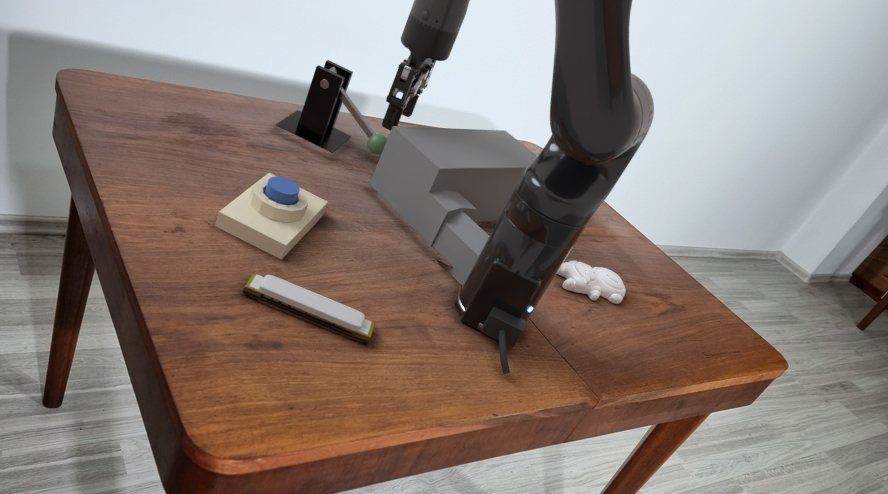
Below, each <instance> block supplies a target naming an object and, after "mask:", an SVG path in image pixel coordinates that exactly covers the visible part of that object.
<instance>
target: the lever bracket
mask: <svg viewBox="0 0 888 494" xmlns="http://www.w3.org/2000/svg"><path fill="white" fill-rule="evenodd" d="M332 67H335V69H336V70H337V71H338V73H339V74H340V75H338V74H336V73H334V72H332V71H330V70H329V69H330V68H332ZM353 74H354V71H352V70H350V69H348V68H346V67H343V66H342V65H340V64H338V63H336V62H334V61H332V60H330V59H327V60H325V62H324V66H322V65H320V64H319V65H316V67H315V69H314V72H313V76H312V79H311V82H310V85H309V88H308V91H307V94H306V98H305V101H304V103H303V107H302V110H299V109H297V110H295V111H293V112H292V113H291V114H289V115H287V116H286V117H285V118H284V119H282V120H280V121H279V122H277V123H276V124H275V126H276V127H278V128H281V130H284V131H286V132H289V133H290V134H292V135H294V136H296V137H298V138H300V139H303V140H305V141H306V142H309V143H311V144H313V145H315V146H317V147H319V148H321V149H323V150H324V151H327V152H329V153H331V154H334V152H336V150H339V148H340V147H342V145H343V144H344V143H346V142H347V141H348V140H349V139H350V138H352V136H351V135H350V134H347V133H346V132H344V131H342V130H340V129H337V128H336V127H335V125H336V122H337V120H338V116H339V114H340V110H341V108H342V105H343V102H342V101H341V100H340V98H339V97H338V95H339V92H340V89H341V87H342V88H343V89H344V91H345V92H346V93H347V91H348V88H349V85H350V82H351V80H352V77H353ZM343 81H345V82H344V83H343Z"/></svg>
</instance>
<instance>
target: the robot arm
mask: <svg viewBox="0 0 888 494" xmlns="http://www.w3.org/2000/svg"><path fill="white" fill-rule="evenodd" d="M553 1H554V15H555V16H554V18H555V32H554V33H555V35H554V54H553V65H552V78H551V90H550V103H549V126H550V131H551V136H550V137H549V139H548V141H547V142H546V143H545V145H544V146H543V148H542V150H541V151H540V152H539V154H537V157H536V158H535V159H534V160H533V161H532V162H531V163H530V164H529V166H528V167H527V168H526V170H525V171H524V173H523V175H522V177H521V179H520V180H519V182H518V184H517V186H516V188H515V190H514V192H513V194H512V195H511V197H510V199H509V201H508V203H507V205H506V207H505V208H504V210H503V212H502V214H501V216H500V218H499V219H498V220H497V221H496V223H495V225H494V227H493V228H492V231H491V233H490V234H489V238H488V240H487V242H486V244H485V246H484V247H483V249H482V251H481V253H480V255H479V257H478V259H477V261H476V262H475V264H474V266H473V268H472V270H471V272H470V274H469V276H468V278H467V280H466V281H465V283H464V285H463V286H462V287H461V288H460V289H459V291H458V293H457V295H456V297H455V306H456V309H457V311H458V312H459V314H460V315H461V318H460V321H461V323H464V324H466V325H467V326H470V327H472V328H474V329H476V330H478V331H479V332H481V333H482V334H483V335H486V336H488V337H490V338H492V339H494V340H496V341H498V351H499V359H500V360H499V361H500V365H501V371H502V375H508V374H511V370H510V366H509V359H508V352H507V346H508V347H509V348H512V349H514V348H515V346H516V345H517V343H518V341H519V340H520V339H521V336H522V335H523V334H524V332H525V327H526V324H527V322H529V321H528V320H529V319H530V318H531V316H532V314H533V313H534V311H535V309H536V307H537V306H538V305H539V303H540V301H541V300H542V298H543V296H544V295H545V294H546V292H547V290H548V288H549V286H550V285H551V283H552V282H553V280H554V278H555V277H556V275H558V274H557V272H558V270H559V269H560V267H561V265H562V264H563V262H566V260H567V258H568V256H569V254H570V253H571V252H572V250H573V248H574V246H575V245H576V243H577V241H578V240H579V238H580V237H581V235H582V233H583V232H584V231H585V229H586V227H587V226H588V224H589V222H590V221H591V219H592V218H593V216H594V215H595V213H596V212H597V210H598V209H599V208H600V207H601V205H602V204H603V203H604V201H605V200H606V199H607V198H608V197H609V195H610V194H611V192H612V191H613V189H614V187H615V186H616V184H617V182H618V181H619V180H620V178H621V177H622V175H623V173H624V172H625V170H626V169H627V168H628V166H629V165H630V163H631V162H632V160H633V158H634V156H635V155H636V154H637V152H638V150H639V149H640V147H641V145H642V144H643V142H644V140H645V138H647V135H648V134H649V131H650V129H651V127H652V125H653V120H654V115H655V103H654V98H653V95H652V92H651V89H650V88H649V87H648V85H647V84H646V83H645V81H644V80H642V78H640V77H639V76H638V75H636V74H634V73H632V67H631V51H630V49H631V48H630V25H631V24H630V23H631V12H632V6H633V1H634V0H553ZM470 2H471V0H413V3H412V5H411V8H410V11H409V14H408V17H407V20H406V22H405V25H404V28H403V31H402V33H401V36H400V43H401V44H402V45H403V47H404V48H406V49H408V51H409V52H410V54H409V56H408V57H407V59H406V58H404V59H403V61H402V62H401V61H400V63H399V64H398V67H397V71H396V73H395V76H394V78H393V82H392V84H391V86H390V89H389V91H388V94H387V96H386V98H385V99H386V100H385V102H386V103H388V106H387V109H386V112H385V114H384V116H383V119H382V122H381V126H382V128H384V129H386V130H388V131H390V132H391V129H392V127H393V126H399V123H400V121H401V119H402V116H404V117H406V118H410V117H411V116H412V115H413V113H414V111H415V108H416V106H417V103H418V100H419V98H420V96H421V95H422V94H423V93H424V90H425V89H426V88H427V87H428V85H429V81H430V78H431V75H432V74H433V70H434V68H435V65H436V63H437V62H444V61H447V60H448V59H449V57H450V56H451V53H452V51H453V47H454V45H455V44H456V40H457V38H458V36H459V33H460V30H461V28H462V25H463V23H464V21H465V18H466V16H467V12H468V10H469V9H468V8H469V5H470ZM398 93H401V94H402V96H401V98H399V97H397V95H398Z"/></svg>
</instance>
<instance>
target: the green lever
mask: <svg viewBox="0 0 888 494" xmlns="http://www.w3.org/2000/svg"><path fill="white" fill-rule="evenodd" d="M329 70H330V71H332V72H334V73H336V74H338V75H340V74H339V73H338V71H337V70H336V69H335V67H332V68H330V69H329ZM344 82H345V81H343V83H344ZM338 97H339V98H340V100H341V101H342V105H344V107H345V108H346V109H347V111H348V112H349V114H350V115H351V116H352V118H353V119H354V120H355V122H356V123H357V124H358V125H359V127H360V129H361V130H362V131H363V133H364V134H365V135H366V137H367V142H366V146H367V149H368V151H369V152H370V154H373V155H375V156H381V154H382V152H383V149H384V147H385V144H386V142H387V139H388V137H387V136H386V135H385V134H384V133H381V132H376V131H374V129H373V128H372V127H371V125H370V124H369V122H368V121H367V119H366V118H365V117H364V116H363V114H362V113H361V111H360V110H359V109H358V107H357V106H356V104H355V103H354V102H353V100H352V98H351V97H350V96H349V94H347V91H346V92H345V91H344V89H343V88H342V87H341V89H340V92H339V95H338Z"/></svg>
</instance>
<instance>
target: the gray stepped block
mask: <svg viewBox="0 0 888 494" xmlns="http://www.w3.org/2000/svg"><path fill="white" fill-rule="evenodd" d="M537 156H538V154H536V153H535V152H533V151H532V149H529V148H528V147H527V146H526V145H524V143H522V142H521V141H519V140H518V139H517V138H515V136H514V135H512V134H510V133H509V132H508V131H507V130H501V129H500V130H499V129H477V128H476V129H475V128H474V129H473V128H449V127H428V126H427V127H426V126H401V125H400V126H399V125H398V126H393V127H392V129H391V131H390V132H389V135H388V137H387V142H386V144H385V147H384V149H383V152H382V154H381V155H380V157H379V159H378V162H377V164H376V167H375V169H374V172H373V175H372V177H371V179H370V182H369V185H370V187H372V189H374V191H375V192H377V194H378V195H380V197H382V198H383V200H384V201H385V202H386V203H387V204H388V205H389V206H390V207H391V208H392V209H393V210H394V211H395V212H396V213H397V214H398V215H399V216H400V217H401V218H402V219H403V220H404V221H405V222H406V223H407V224H408V225H409V226H410V227H411V228H412V229H413V230H414V231H415V232H416V233H417V234H418V235H419V236H420V237H421V238H422V239H423V240H424V242H426V243H427V244H428V245H429V246H430V247H433V249H435V250H436V252H437V253H438V254H439V255H440V256H441V257H442V258H443V259H444V260H445V261H446V262H447V263H448V264H447V263H445V262H442V261H441V260H438V259H437V258H436V259H435V260H436V261H437V262H438V263H439V264H440V266H442V267H443V268H444V269H445V270H446V271H447V272H448V273H449V274H450V276H452V278H453V279H454V280H456V281H457V283H458V284H459V285H460V286H462V287H463V285H464V283H465V281H466V280H467V278H468V276H469V274H470V272H471V270H472V268H473V266H474V264H475V262H476V261H477V259H478V257H479V255H480V253H481V251H482V249H483V247H484V246H485V244H486V242H487V240H488V238H489V236H490V234H488V233H487V232H486V231H485V230H484V229H483V228H482V227H480V226H479V224H477V223H483V222H484V223H485V222H494V221H496V222H497V221H498V219H499V218H500V216H501V214H502V212H503V210H504V208H505V207H506V205H507V203H508V201H509V199H510V197H511V195H512V194H513V192H514V190H515V188H516V186H517V184H518V182H519V180H520V179H521V177H522V175H523V173H524V171H525V170H526V168H527V167H528V166H529V164H530V163H531V162H532V161H533V160H534V159H535V158H536V157H537ZM449 264H450V265H449Z"/></svg>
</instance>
